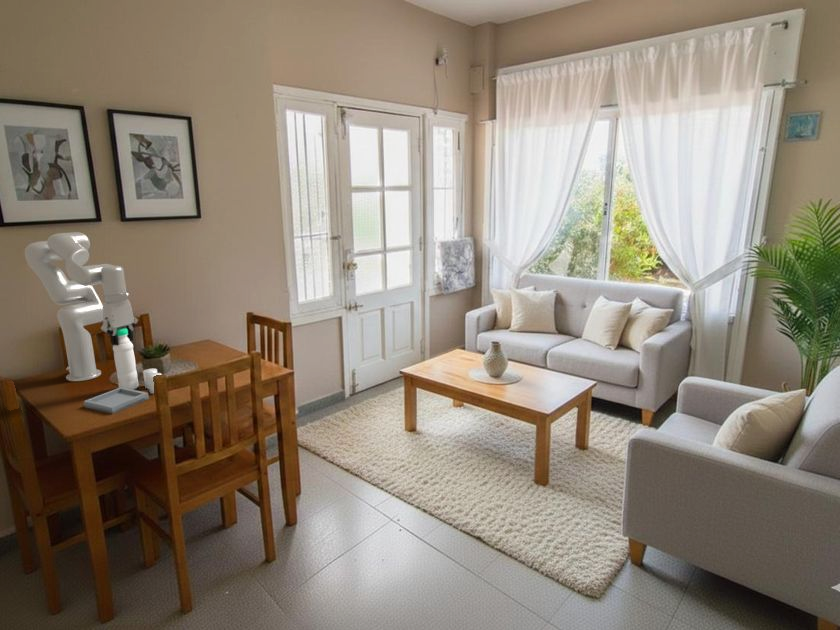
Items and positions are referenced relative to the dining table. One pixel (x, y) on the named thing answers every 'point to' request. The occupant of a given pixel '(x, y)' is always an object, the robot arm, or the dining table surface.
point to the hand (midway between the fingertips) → (122, 342)
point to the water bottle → (125, 361)
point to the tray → (116, 400)
